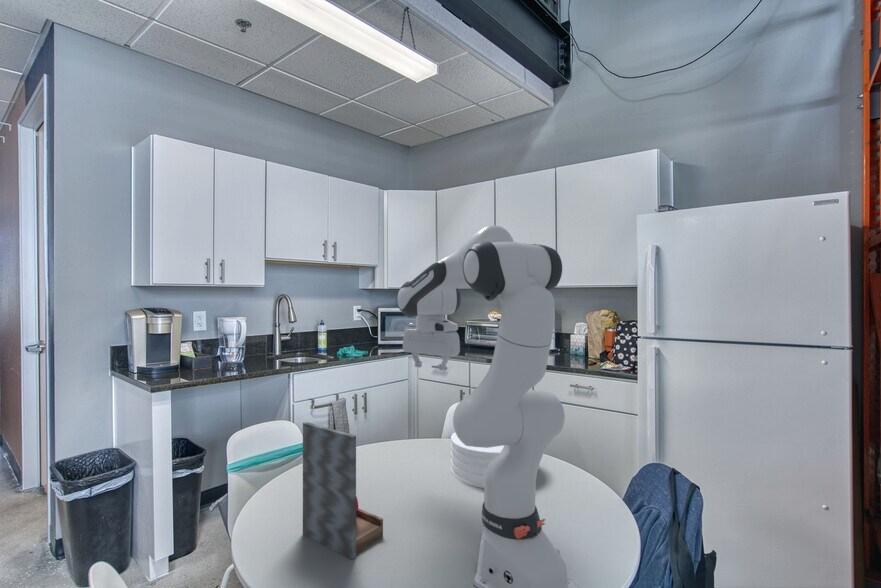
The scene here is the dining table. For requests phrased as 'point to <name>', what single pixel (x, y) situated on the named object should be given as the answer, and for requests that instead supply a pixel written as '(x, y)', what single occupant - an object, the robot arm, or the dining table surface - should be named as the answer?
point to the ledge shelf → (334, 493)
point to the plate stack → (471, 461)
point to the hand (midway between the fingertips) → (430, 368)
